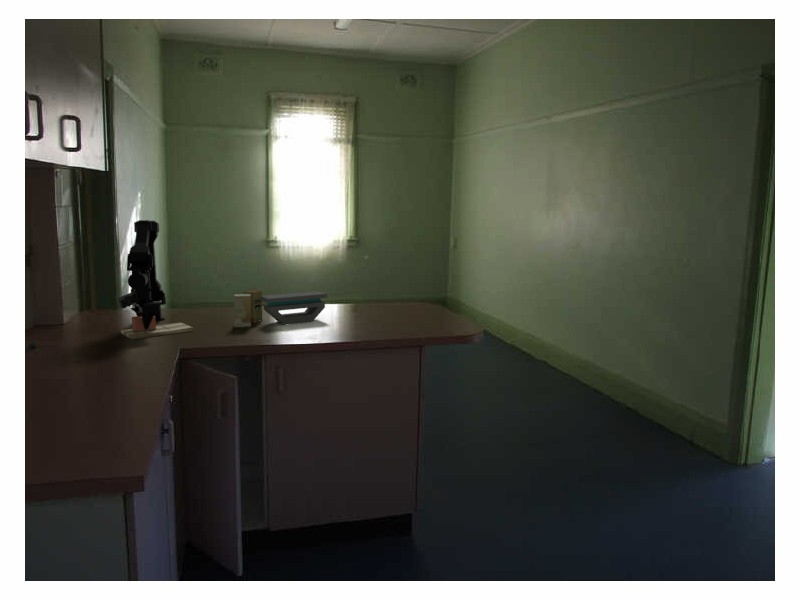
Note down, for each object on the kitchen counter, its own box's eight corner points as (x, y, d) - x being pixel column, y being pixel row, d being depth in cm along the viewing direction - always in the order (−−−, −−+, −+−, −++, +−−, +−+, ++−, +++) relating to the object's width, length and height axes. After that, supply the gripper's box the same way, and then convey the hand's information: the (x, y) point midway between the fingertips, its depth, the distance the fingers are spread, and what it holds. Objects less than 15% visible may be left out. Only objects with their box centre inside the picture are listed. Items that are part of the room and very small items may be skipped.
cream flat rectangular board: (120, 333, 221) (120, 330, 221) (181, 325, 235) (180, 322, 235) (131, 339, 212) (131, 335, 212) (193, 330, 226) (193, 327, 226)
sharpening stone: (268, 326, 234) (267, 298, 232) (261, 323, 241) (260, 296, 239) (327, 320, 247) (327, 293, 245) (319, 317, 254) (319, 291, 252)
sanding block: (132, 330, 220) (131, 317, 219) (152, 328, 224) (151, 314, 223) (136, 332, 217) (135, 318, 216) (156, 330, 221) (155, 316, 220)
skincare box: (234, 327, 232) (233, 296, 230) (234, 325, 236) (233, 294, 234) (251, 326, 234) (250, 295, 232) (251, 324, 238) (250, 293, 236)
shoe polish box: (244, 321, 244) (243, 291, 242) (252, 319, 248) (251, 290, 246) (254, 322, 242) (253, 292, 240) (262, 320, 246) (261, 290, 244)
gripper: (110, 284, 220) (113, 326, 222) (126, 290, 206) (129, 335, 208) (141, 281, 227) (144, 322, 229) (159, 287, 213) (162, 331, 215)
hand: (144, 328), depth 220 cm, fingers closed on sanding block, 4 cm apart
